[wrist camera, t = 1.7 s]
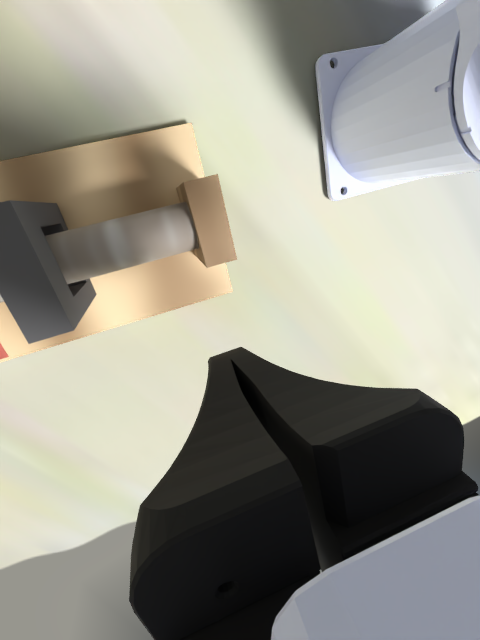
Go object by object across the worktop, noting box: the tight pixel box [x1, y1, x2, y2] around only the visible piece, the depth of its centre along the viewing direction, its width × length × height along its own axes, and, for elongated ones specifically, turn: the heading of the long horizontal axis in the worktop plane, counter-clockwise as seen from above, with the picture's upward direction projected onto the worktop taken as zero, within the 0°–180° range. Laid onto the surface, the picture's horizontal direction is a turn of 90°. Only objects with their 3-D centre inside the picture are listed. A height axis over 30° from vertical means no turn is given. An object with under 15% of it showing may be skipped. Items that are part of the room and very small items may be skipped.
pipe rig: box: [0, 123, 237, 362], centre depth 15 cm, size 20×10×5 cm, turn 103°
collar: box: [0, 200, 97, 344], centre depth 14 cm, size 2×5×6 cm, turn 13°
